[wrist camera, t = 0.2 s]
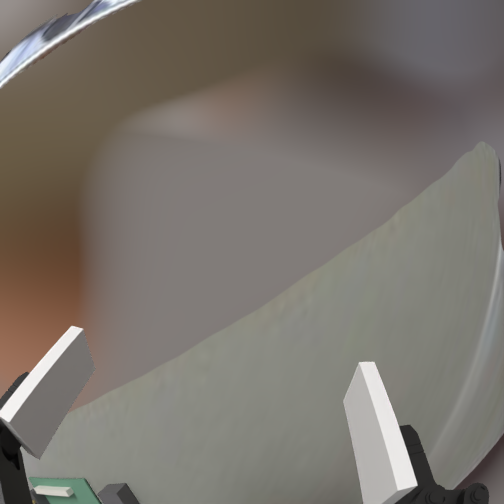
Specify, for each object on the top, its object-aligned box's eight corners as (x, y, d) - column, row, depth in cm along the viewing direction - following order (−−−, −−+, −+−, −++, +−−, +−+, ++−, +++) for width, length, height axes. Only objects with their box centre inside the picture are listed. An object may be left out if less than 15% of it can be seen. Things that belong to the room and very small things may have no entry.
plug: (140, 504, 37) (131, 515, 32) (120, 505, 36) (112, 516, 31) (125, 483, 38) (116, 493, 33) (107, 484, 38) (96, 494, 33)
